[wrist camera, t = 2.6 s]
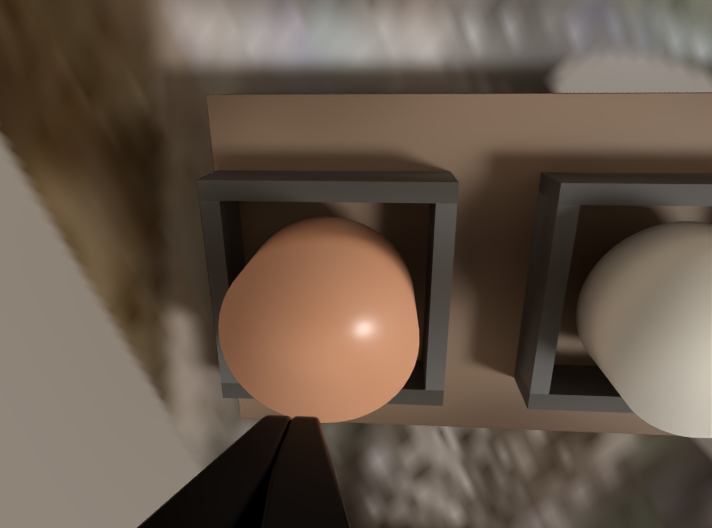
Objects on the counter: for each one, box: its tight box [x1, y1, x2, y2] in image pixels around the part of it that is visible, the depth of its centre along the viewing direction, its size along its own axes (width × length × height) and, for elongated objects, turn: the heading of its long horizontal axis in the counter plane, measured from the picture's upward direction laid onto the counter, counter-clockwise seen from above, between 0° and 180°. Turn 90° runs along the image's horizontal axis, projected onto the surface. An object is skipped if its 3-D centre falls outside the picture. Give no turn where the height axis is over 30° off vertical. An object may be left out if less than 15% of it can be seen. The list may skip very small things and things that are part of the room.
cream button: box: [576, 221, 712, 438], centre depth 11 cm, size 4×4×2 cm
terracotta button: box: [218, 216, 419, 423], centre depth 11 cm, size 4×4×2 cm
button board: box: [197, 93, 712, 436], centre depth 13 cm, size 10×23×4 cm, turn 90°
